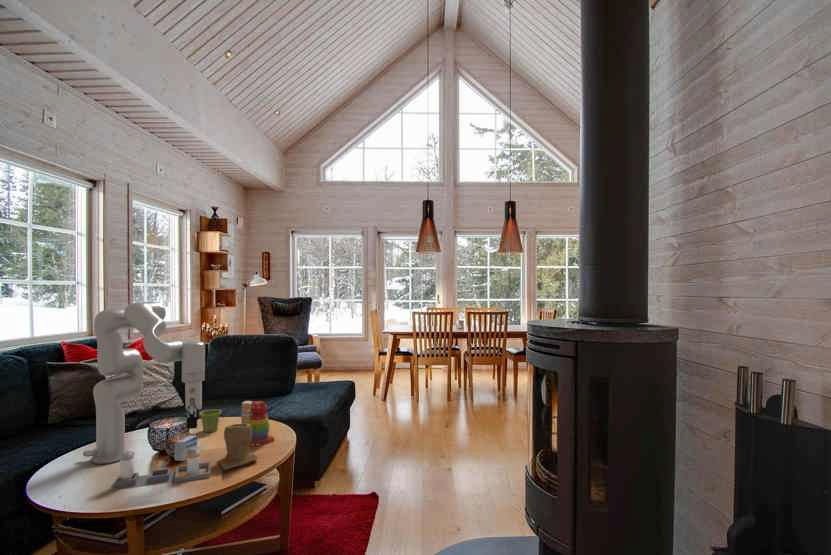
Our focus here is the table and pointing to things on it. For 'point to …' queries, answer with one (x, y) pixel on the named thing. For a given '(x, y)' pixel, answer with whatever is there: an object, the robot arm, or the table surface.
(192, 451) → the marked fuse
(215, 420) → the plant pot
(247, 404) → the supplement box
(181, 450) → the medicine box
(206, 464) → the tray
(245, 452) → the brown piece
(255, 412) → the stacking bear
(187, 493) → the table surface
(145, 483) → the fuse block
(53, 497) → the table surface
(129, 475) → the plain fuse
